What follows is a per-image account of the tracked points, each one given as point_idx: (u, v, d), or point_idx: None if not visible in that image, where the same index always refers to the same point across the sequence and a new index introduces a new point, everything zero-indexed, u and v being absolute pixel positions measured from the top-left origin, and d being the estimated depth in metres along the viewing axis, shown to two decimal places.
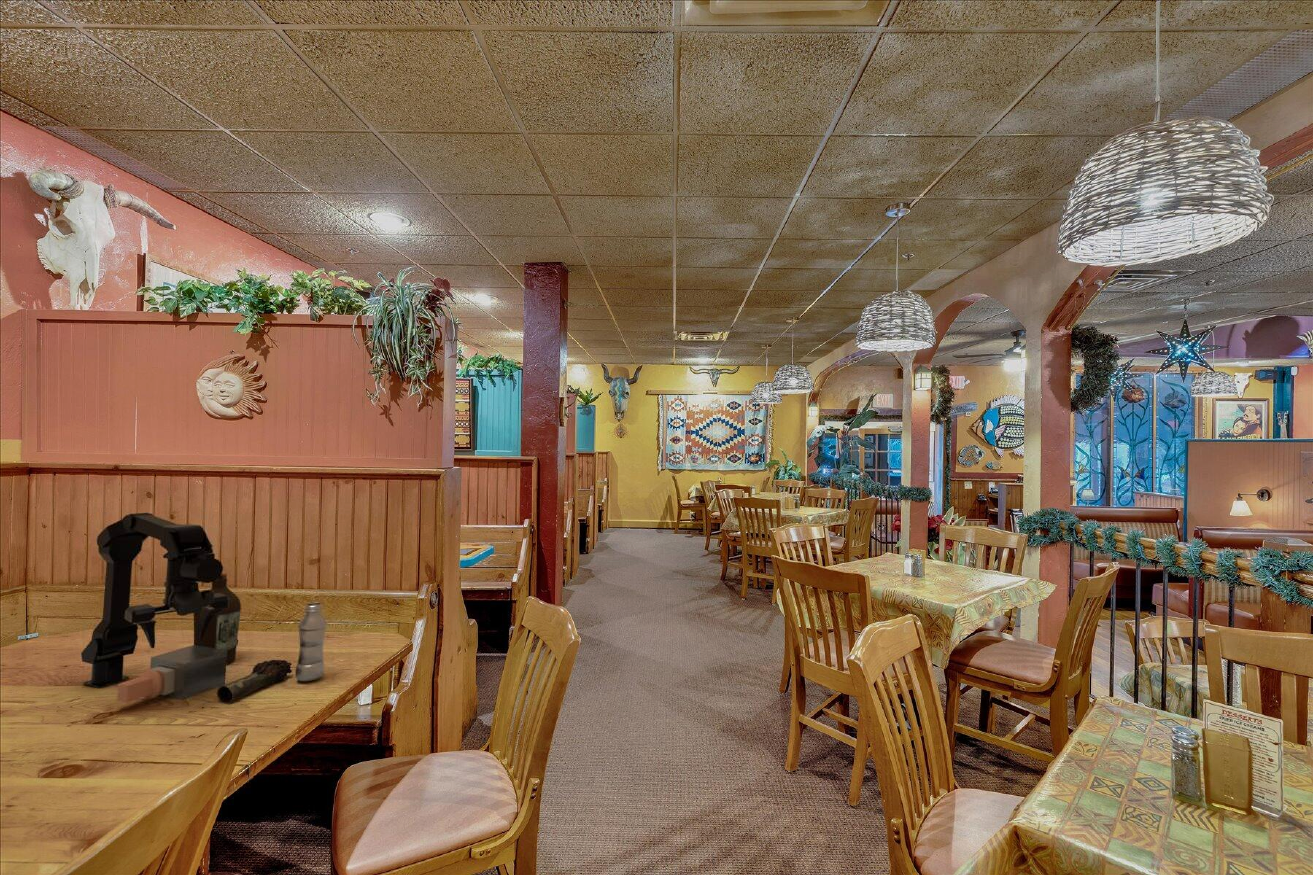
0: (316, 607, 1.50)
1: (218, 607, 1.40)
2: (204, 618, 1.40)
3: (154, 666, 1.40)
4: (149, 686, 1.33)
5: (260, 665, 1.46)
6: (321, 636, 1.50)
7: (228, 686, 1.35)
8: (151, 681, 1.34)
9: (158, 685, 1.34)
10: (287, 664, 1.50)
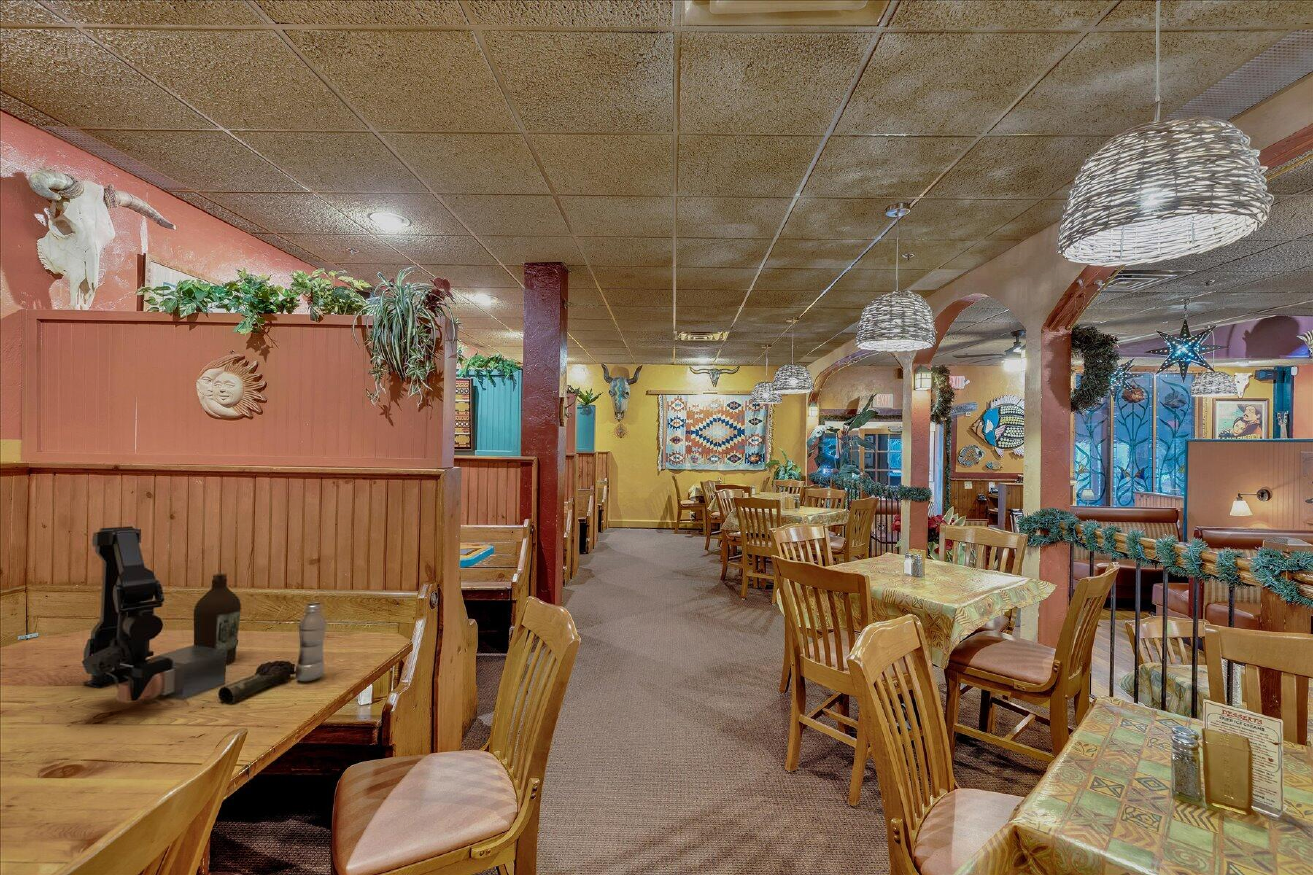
0: (316, 607, 1.50)
1: (135, 675, 1.26)
2: None
3: None
4: (149, 686, 1.33)
5: (263, 666, 1.46)
6: (321, 636, 1.50)
7: (229, 687, 1.35)
8: (151, 681, 1.34)
9: (158, 685, 1.34)
10: (290, 665, 1.49)
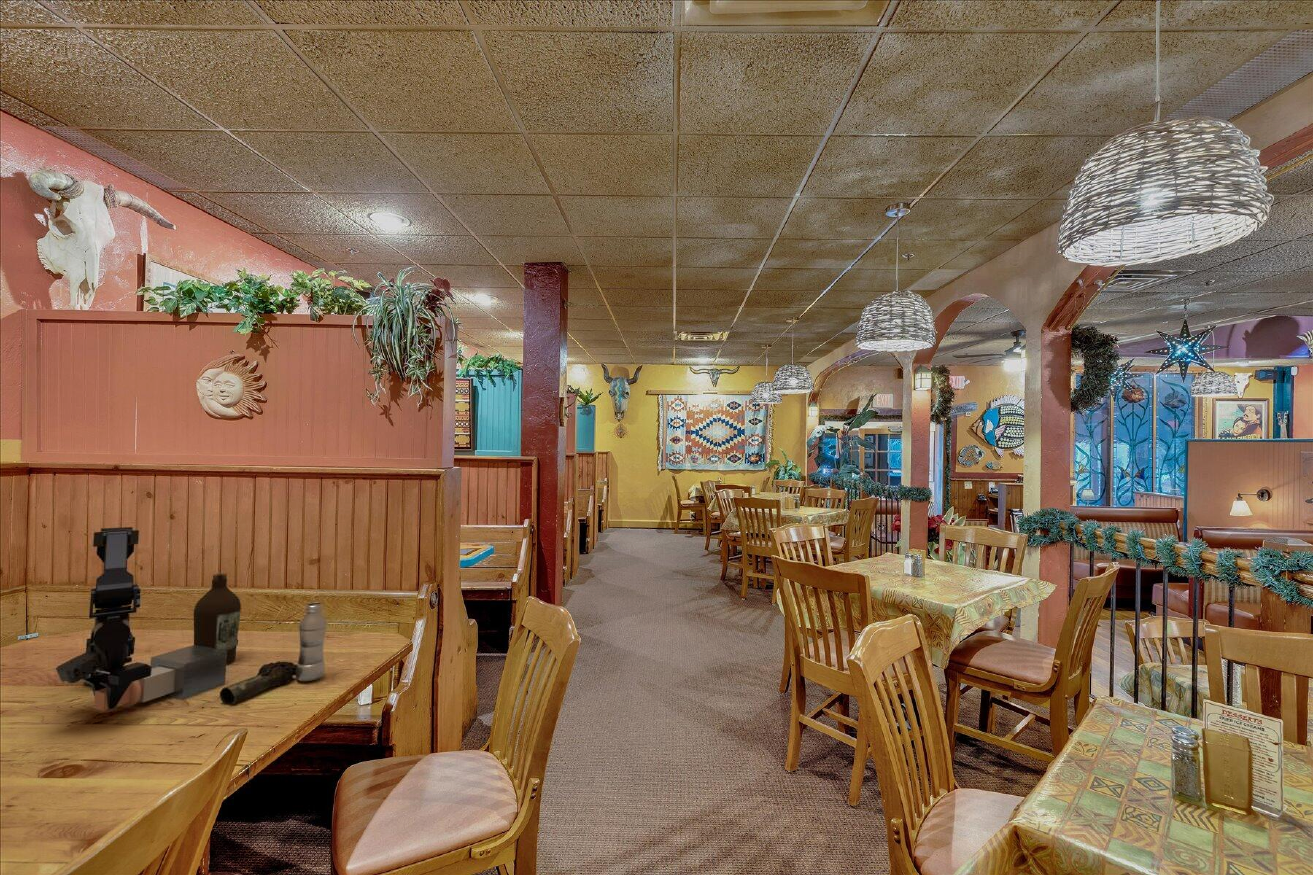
0: (317, 607, 1.50)
1: (112, 682, 1.22)
2: None
3: (154, 666, 1.40)
4: (128, 693, 1.29)
5: (265, 667, 1.45)
6: (321, 636, 1.50)
7: (230, 688, 1.34)
8: (129, 688, 1.29)
9: (137, 692, 1.30)
10: (293, 666, 1.49)
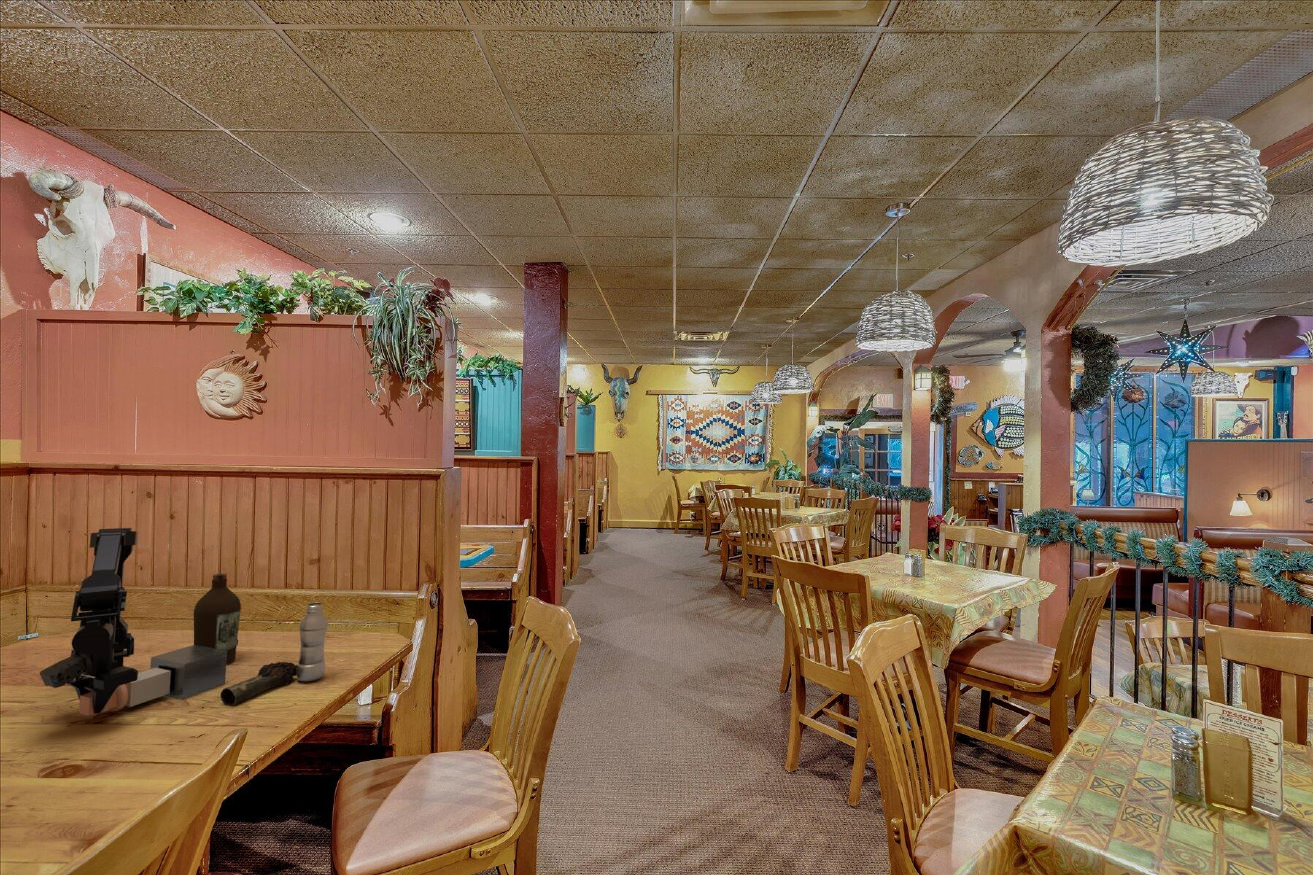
0: (317, 607, 1.50)
1: (97, 686, 1.20)
2: None
3: (154, 666, 1.40)
4: (114, 697, 1.27)
5: (266, 667, 1.45)
6: (322, 636, 1.50)
7: (231, 689, 1.34)
8: (116, 692, 1.27)
9: (123, 696, 1.27)
10: (293, 667, 1.49)
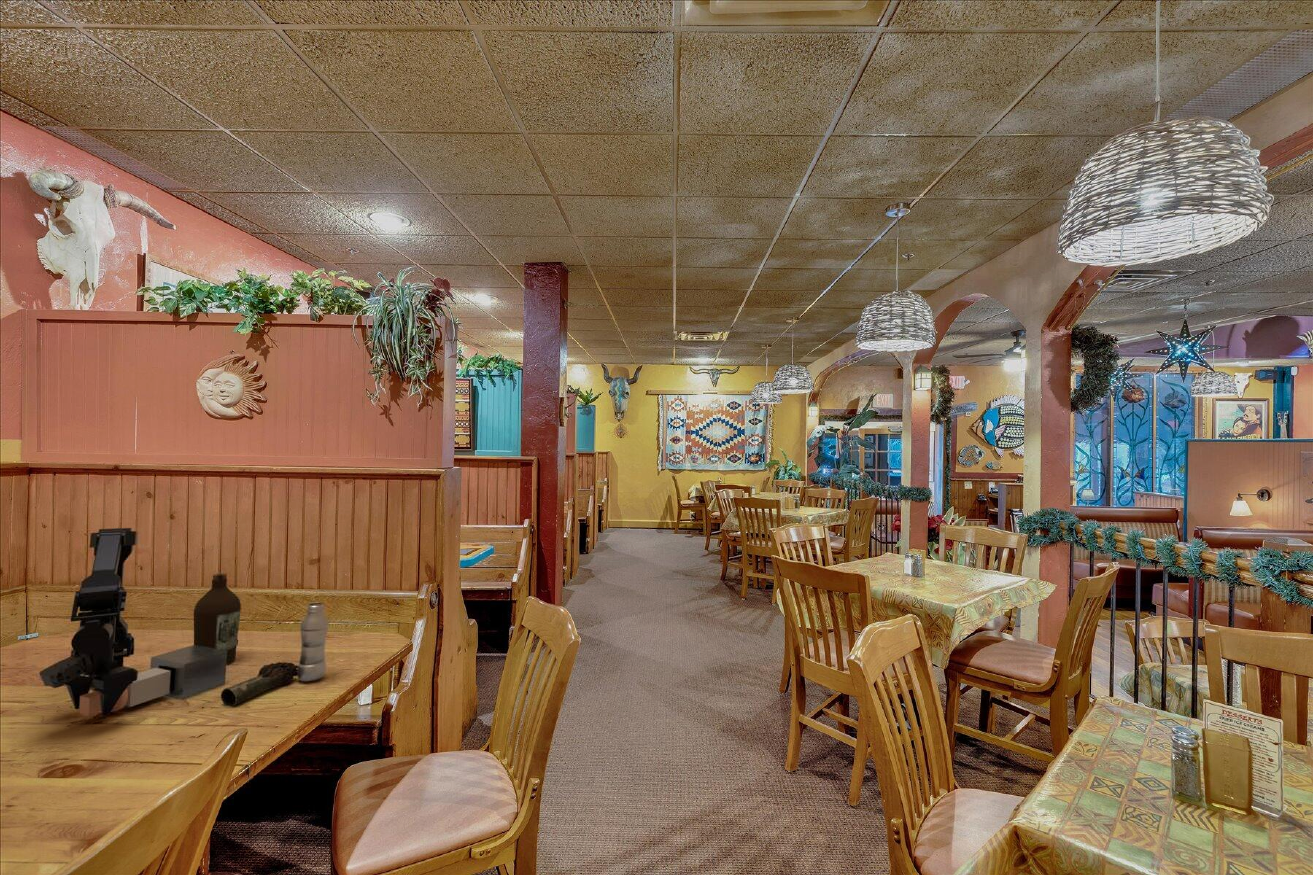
0: (318, 607, 1.50)
1: (97, 686, 1.19)
2: None
3: (154, 666, 1.40)
4: None
5: (266, 667, 1.45)
6: (323, 636, 1.50)
7: (231, 689, 1.34)
8: None
9: (123, 697, 1.27)
10: (293, 667, 1.48)
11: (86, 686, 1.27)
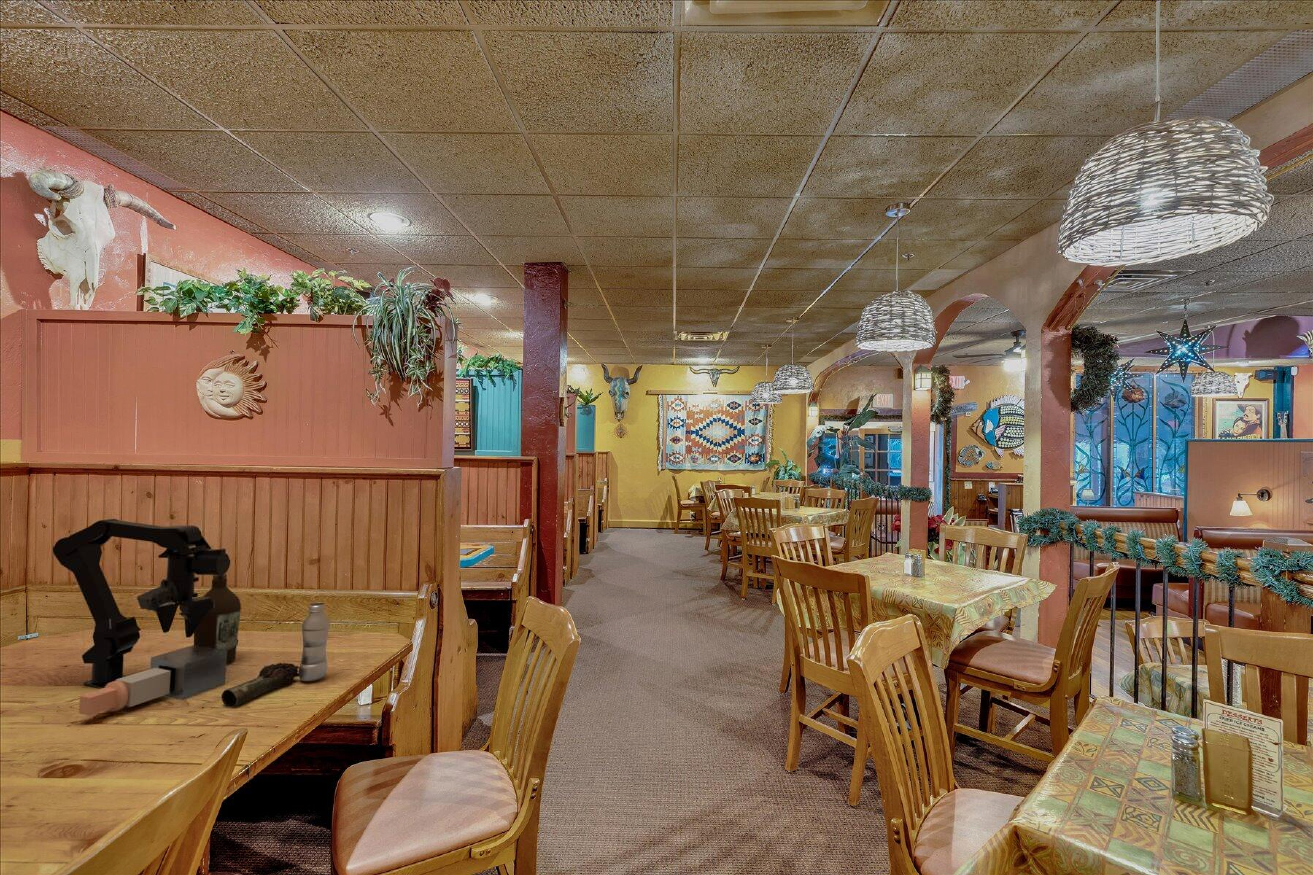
0: (320, 607, 1.50)
1: (182, 611, 1.42)
2: None
3: (154, 666, 1.40)
4: (114, 697, 1.27)
5: (266, 668, 1.44)
6: (324, 636, 1.50)
7: (232, 690, 1.33)
8: (116, 692, 1.27)
9: (123, 697, 1.27)
10: (294, 668, 1.48)
11: (172, 614, 1.50)
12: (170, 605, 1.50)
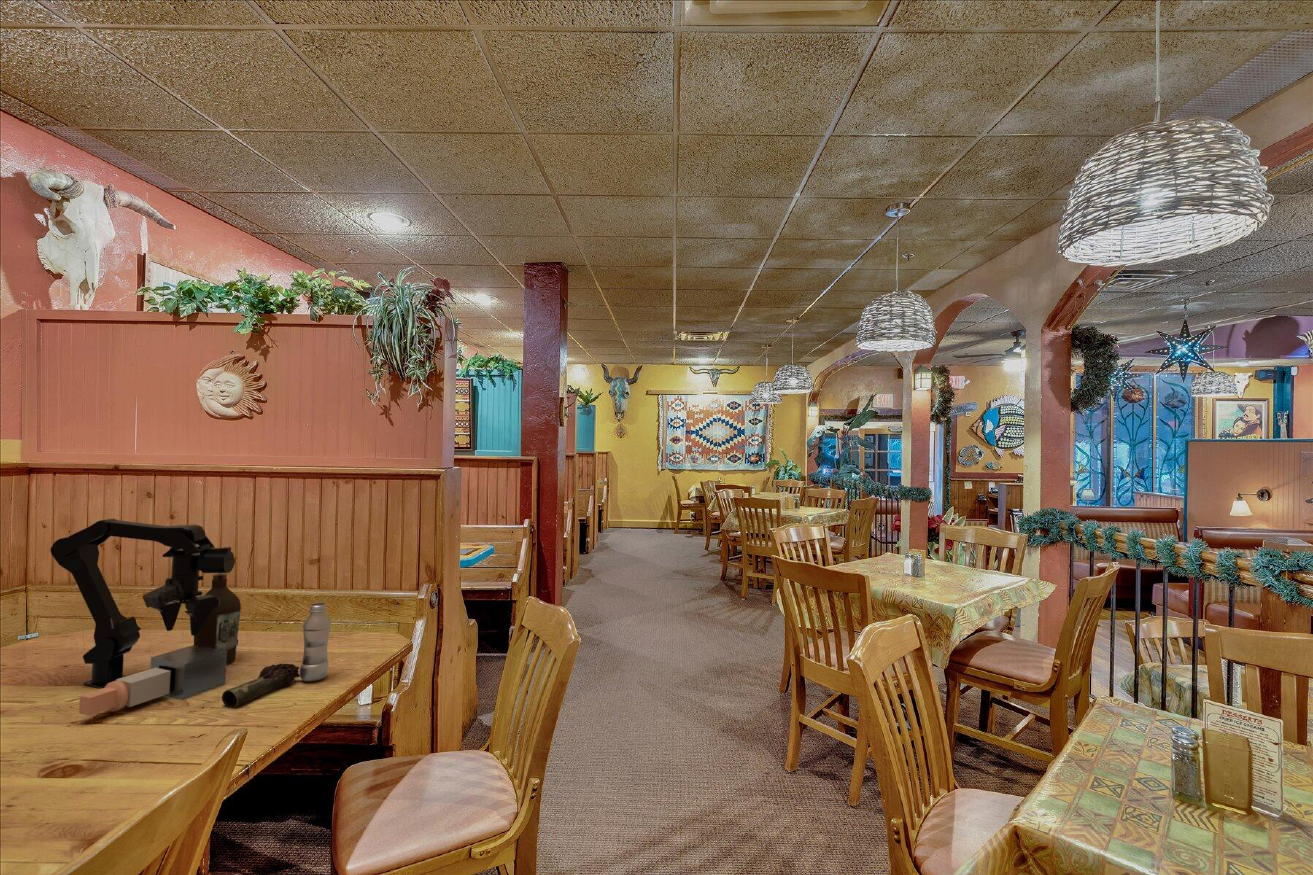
0: (321, 607, 1.50)
1: (188, 609, 1.44)
2: None
3: (154, 666, 1.40)
4: (114, 697, 1.27)
5: (267, 669, 1.44)
6: (325, 636, 1.50)
7: (233, 691, 1.33)
8: (116, 692, 1.27)
9: (123, 697, 1.27)
10: (295, 668, 1.48)
11: (175, 612, 1.51)
12: (173, 604, 1.51)
